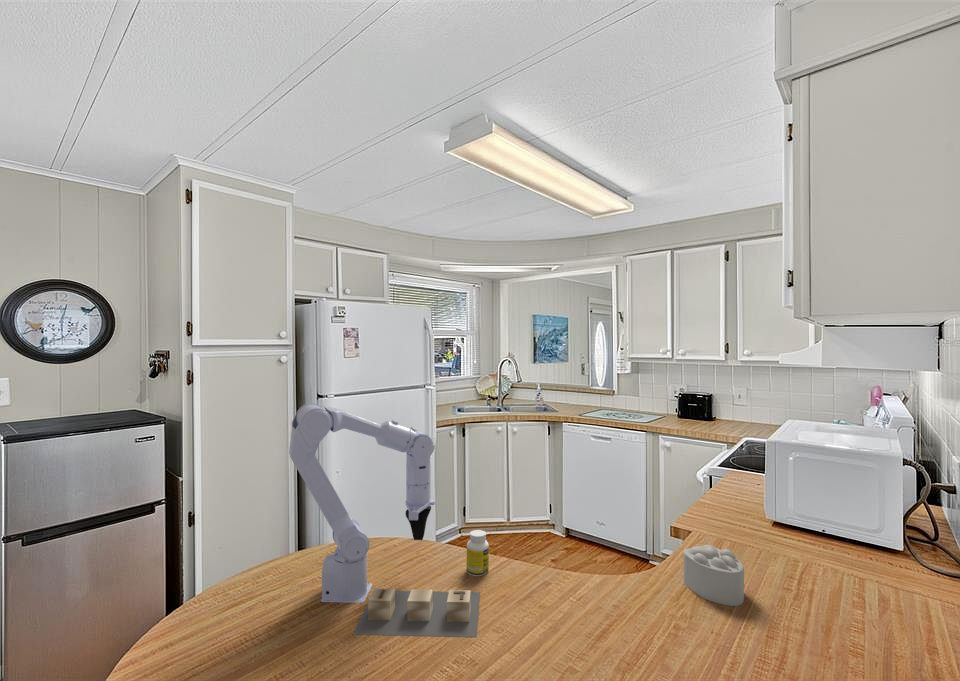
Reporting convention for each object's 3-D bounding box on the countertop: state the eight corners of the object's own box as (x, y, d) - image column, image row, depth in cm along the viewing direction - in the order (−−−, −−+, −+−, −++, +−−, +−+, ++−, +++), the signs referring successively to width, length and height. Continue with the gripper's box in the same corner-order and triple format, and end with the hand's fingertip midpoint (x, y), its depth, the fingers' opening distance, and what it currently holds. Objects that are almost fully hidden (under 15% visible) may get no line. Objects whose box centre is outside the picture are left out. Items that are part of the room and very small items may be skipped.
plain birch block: (407, 620, 97) (407, 601, 97) (411, 608, 102) (411, 589, 102) (429, 621, 97) (429, 601, 97) (432, 608, 102) (432, 589, 102)
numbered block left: (368, 619, 98) (368, 599, 98) (374, 607, 102) (373, 587, 102) (390, 620, 97) (390, 599, 97) (395, 607, 102) (395, 588, 102)
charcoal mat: (352, 637, 93) (352, 634, 93) (374, 592, 109) (374, 590, 109) (477, 640, 92) (477, 637, 92) (480, 594, 108) (480, 592, 108)
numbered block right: (447, 621, 97) (446, 601, 97) (449, 608, 102) (449, 589, 101) (469, 622, 97) (469, 601, 97) (470, 609, 101) (470, 589, 101)
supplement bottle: (486, 579, 115) (486, 538, 115) (464, 577, 116) (464, 536, 116) (490, 568, 120) (490, 529, 120) (469, 566, 121) (469, 527, 121)
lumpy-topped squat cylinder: (713, 573, 118) (713, 538, 117) (757, 602, 105) (757, 562, 105) (676, 579, 115) (677, 543, 115) (718, 609, 102) (718, 569, 102)
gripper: (430, 492, 108) (431, 552, 108) (438, 473, 122) (439, 527, 123) (399, 492, 108) (399, 552, 108) (411, 473, 123) (411, 526, 123)
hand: (418, 538), depth 115 cm, fingers closed
